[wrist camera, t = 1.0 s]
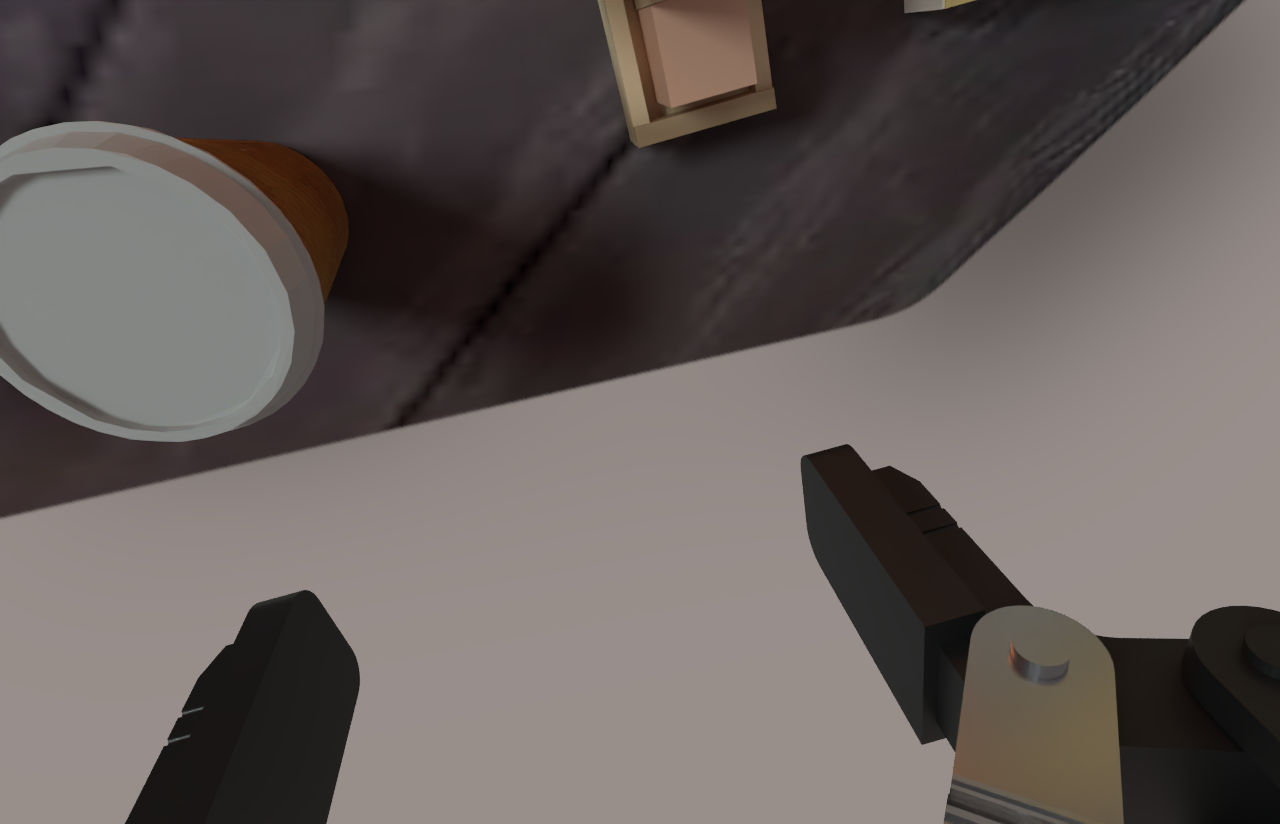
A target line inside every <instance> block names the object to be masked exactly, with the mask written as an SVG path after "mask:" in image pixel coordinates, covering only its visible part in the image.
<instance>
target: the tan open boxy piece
mask: <svg viewBox="0 0 1280 824" xmlns="http://www.w3.org/2000/svg"><path fill="white" fill-rule="evenodd" d="M664 1H668V0H598V3H599V8H600V12H601V16H602V20H603V25H604V29H605V33H606V37H607V42H608V46H609V50H610V54H611V59H612V63H613V67H614V71H615V76H616V80H617V84H618V88H619V93H620V97H621V101H622V105H623V110H624V114H625V118H626V122H627V126H628V131H629V135H630V139H631V142H633V143H634V144H635V145H636V146H637V147H638V148H641V147H644V146H648V145H651V144H655V143H658V142H662V141H665V140H669V139H672V138H676V137H679V136H683V135H686V134H690V133H693V132H697V131H700V130H703V129H707V128H710V127H714V126H717V125H721V124H724V123H728V122H731V121H735V120H738V119H742V118H745V117H749V116H752V115H756V114H759V113H762V112H766V111H769V110H773V109H776V100H775V92H774V88H772V80H771V72H770V64H769V57H768V49H767V41H766V33H765V25H764V17H763V9H762V1H761V0H746V3H747V10H748V18H749V25H750V32H751V40H752V47H753V54H754V62H755V69H756V76H757V84H754V85H750V86H747V87H743V88H740V89H736V90H733V91H729V92H726V93H722V94H719V95H715V96H712V97H708V98H705V99H701V100H698V101H694V102H691V103H688V104H684V105H681V106H677V107H674V108H670V107H667V106H665V105H662V104H660V103H657V102H656V100H655V95H654V91H653V86H652V81H651V76H650V72H649V67H648V62H647V57H646V53H645V48H644V43H643V39H642V34H641V29H640V24H639V20H638V15H637V10H639V9H642V8H645V7H647V6H650V5H654V4H657V3H661V2H664Z"/></svg>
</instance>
